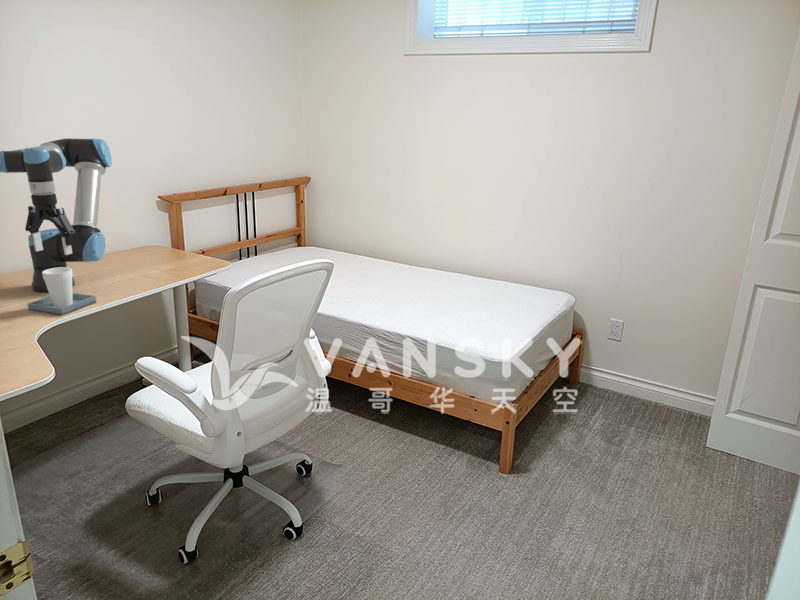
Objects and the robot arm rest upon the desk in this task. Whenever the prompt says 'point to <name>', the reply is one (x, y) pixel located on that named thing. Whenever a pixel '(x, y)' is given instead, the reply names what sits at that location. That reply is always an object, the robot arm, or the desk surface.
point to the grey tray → (47, 307)
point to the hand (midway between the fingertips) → (53, 252)
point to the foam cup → (59, 285)
